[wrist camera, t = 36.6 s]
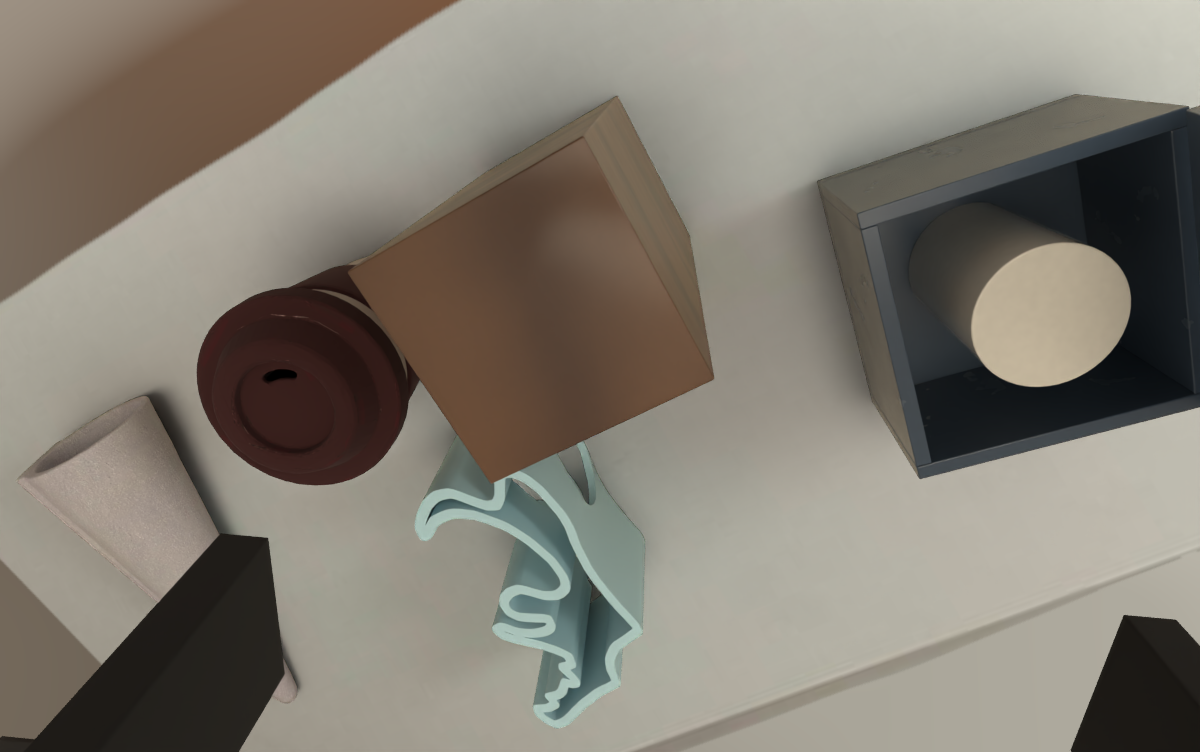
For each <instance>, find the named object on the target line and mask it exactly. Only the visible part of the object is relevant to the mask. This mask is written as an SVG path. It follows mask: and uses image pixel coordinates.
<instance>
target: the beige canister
mask: <svg viewBox="0 0 1200 752" xmlns="http://www.w3.org/2000/svg"><path fill="white" fill-rule="evenodd" d="M909 281H910V285H911V288H912V291H913V293H914V295H915V297H916V298H917V300H918V301H919V302H920V304H921V305H922V306H923V307H924V308H925V309H926V310H927V311H928V312H929V313H930V314H931V315H932V316H933V317H934V318H936V319H937V320H938V321H939V322H940V323H941V324H942V325H943V326H944V327H945V328H946V329H947V330H948V331H949V332H950V333H951V334H952V335H953V336H954V337H955V338H956V339H957V340H958V341H959V342H960V343H961V344H962V345H963V346H964V347H965V348H966V349H968V350H969V351H970V352H971V353H972V354H973V355H974V356H975V357H976V358H977V359H978V360H979V361H980V362H981V363H982V364H983V365H984V366H985V367H986V368H987V369H988V370H989V371H991V372H992V373H993V374H994V375H996V376H998V377H999V378H1001V379H1003V380H1005V381H1007V382H1010V383H1013V384H1016V385H1022V386H1029V387H1043V386H1051V385H1057V384H1061V383H1064V382H1067V381H1070V380H1072V379H1075V378H1077V377H1079V376H1081V375H1083V374H1085V373H1086V372H1088V371H1089V370H1091V369H1092V368H1094V367H1095V366H1097V365H1098V364H1099V363H1100V362H1101V361H1102V360H1104V359H1105V358H1106V357H1107V355H1108V354H1109V353H1110V352H1111V351H1112V350H1113V349H1114V347H1115V346H1116V345H1117V343H1118V342H1119V340H1120V338H1121V337H1122V335H1123V333H1124V330H1125V328H1126V326H1127V323H1128V319H1129V316H1130V309H1131V294H1130V288H1129V285H1128V281H1127V279H1126V277H1125V275H1124V273H1123V271H1122V269H1121V268H1120V267H1119V265H1118V264H1117V263H1116V262H1115V261H1114V260H1113V259H1112V258H1111V257H1110V256H1108V255H1107V254H1105V253H1104V252H1102V251H1100V250H1098V249H1096V248H1094V247H1092V246H1090V245H1088V244H1086V243H1083V242H1081V241H1079V240H1077V239H1075V238H1072V237H1070V236H1068V235H1066V234H1064V233H1061V232H1059V231H1057V230H1055V229H1053V228H1050V227H1048V226H1046V225H1044V224H1041V223H1039V222H1037V221H1035V220H1033V219H1030V218H1028V217H1026V216H1024V215H1022V214H1019V213H1017V212H1015V211H1013V210H1011V209H1008V208H1006V207H1004V206H1001V205H998V204H993V203H982V202H979V203H970V204H965V205H962V206H959V207H956V208H953V209H951V210H949V211H947V212H945V213H944V214H942V215H941V216H939V217H938V218H937V219H935V220H934V221H933V222H932V223H931V224H930V225H929V226H928V227H927V228H926V229H925V230H924V231H923V233H922V234H921V235H920V237H919V238H918V240H917V242H916V244H915V246H914V248H913V250H912V253H911V257H910V262H909Z"/></svg>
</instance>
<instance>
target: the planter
mask: <svg viewBox="0 0 1200 752" xmlns="http://www.w3.org/2000/svg"><path fill="white" fill-rule="evenodd" d="M16 481H17V483H18V484H20V485H21V486H22V487H23V488H24V489H25V490H27V491H28V492H29V493H30V494H31V495H32V496H34V497H35V498H36V499H37V500H38V501H39V502H41V503H42V504H43V505H44V506H45V507H46V508H48V509H49V510H50V511H51V512H52V513H53V514H55V515H56V516H57V517H58V518H59V519H60V520H62V521H63V522H64V523H65V524H66V525H67V526H69V527H70V528H71V529H72V530H73V531H74V532H76V533H77V534H78V535H79V536H80V537H81V538H83V539H84V540H85V541H86V542H87V543H88V544H90V545H91V546H92V547H93V548H94V549H95V550H97V551H98V552H99V553H100V554H101V555H102V556H104V557H105V558H106V559H107V560H108V561H109V562H111V563H112V564H113V565H114V566H115V567H117V568H118V569H119V570H120V571H121V572H122V573H124V574H125V575H126V576H127V577H128V578H129V579H131V580H132V581H133V582H134V583H135V584H136V585H138V586H139V587H140V588H141V589H142V590H143V591H145V592H146V593H147V594H148V595H149V596H150V597H152V598H153V599H154V600H155V601H156V602H157V603H158V602H159V601H160V600H161V599H162V598H163V597H164V596H165V594H166V593H167V592H168V591H169V590H170V589H171V588H172V587H173V586H174V584H175V583H176V582H177V581H178V580H179V579H180V578H181V577H182V576H183V575H184V573H185V572H186V571H187V570H188V569H189V568H190V567H191V566H192V565H193V563H194V562H195V561H196V560H197V559H198V558H199V557H200V556H201V555H202V553H203V552H204V551H205V550H206V549H207V548H208V547H209V546H210V545H211V543H212V542H213V541H214V540H215V539H216V538H217V537H218V536H219V533H218V531H217V529H216V527H215V525H214V523H213V521H212V519H211V517H210V515H209V513H208V511H207V510H206V508H205V506H204V504H203V502H202V500H201V498H200V496H199V494H198V492H197V490H196V488H195V487H194V485H193V483H192V481H191V479H190V477H189V475H188V473H187V472H186V470H185V468H184V466H183V464H182V462H181V460H180V458H179V456H178V454H177V452H176V449H175V447H174V445H173V444H172V442H171V440H170V438H169V436H168V434H167V432H166V430H165V428H164V426H163V424H162V423H161V421H160V419H159V417H158V415H157V413H156V411H155V409H154V407H153V405H152V404H151V402H150V400H149V398H148V397H147V396H141V397H137V398H134V399H132V400H129V401H127V402H125V403H123V404H121V405H119V406H117V407H115V408H113V409H111V410H109V411H107V412H106V413H104V414H102V415H100V416H99V417H97V418H95V419H94V420H92V421H91V422H89V423H87V424H86V425H84V426H83V427H81V428H80V429H78V430H77V431H75V432H74V433H72V434H71V435H69V436H68V437H66V438H65V439H63V440H61V441H59V442H57V443H56V444H55V445H54V446H52V447H51V448H50V449H49V450H48V451H47V452H46V453H45V454H43V455H42V456H41V457H40V458H39V459H38V460H37V461H36V462H35V463H34V464H33V465H31V466H30V467H29V468H28V469H27V470H26V471H25V472H24V473H23V474H22V475H21V476H20V477H19V478H18V479H17V480H16ZM283 663H284V671H285V675H284V676H283V678H282V680H281V682H280V683H279V685H278V687H277V688H276V690H275V692H274V693H273V695H272V697H273V698H275V699H277V700H278V701H280V702H282V703H290V702H292V701H293V700H294V699H295V698H296V696H297V686H296V683H295V681H294V679H293V677H292V675H291V673H290V671H289V669H288V666H287V664H286V662H285V660H284V658H283Z"/></svg>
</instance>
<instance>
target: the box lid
mask: <svg viewBox="0 0 1200 752" xmlns="http://www.w3.org/2000/svg"><path fill="white" fill-rule="evenodd" d="M1186 118H1187V130H1188V142H1189V155H1190V167H1191V179H1192V191H1193V203H1194V215H1195V228H1196V240H1197V252H1198V264H1199V276H1200V106H1198V107H1194V108H1191V109H1187V110H1186Z"/></svg>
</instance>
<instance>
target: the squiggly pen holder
mask: <svg viewBox="0 0 1200 752" xmlns="http://www.w3.org/2000/svg"><path fill="white" fill-rule="evenodd" d="M577 446H578V448H579V450H580V453H581V456H582V461H583V465H584V468H585V473H586V477H587V481H588V488H589V503H588V504H587V503H586V502H585V500H584V498H583V495H582V492H581V490H580V489H579V487H578V485H577V484H576V482H575V481H574V480H573V478H572V477H571V476H570V475H569V474H568V472H567V471H566V469H565V467H564V465H563V464H562V462H561V460H560V458H559V456H558V454H557V453H556V454H554V455H552V456H550V457H548V458H545V459H543V460H541V461H539V462H537V463H535V464H533V465H531V466H528V467H526V468H524V469H522V470H520V471H518V472H516V473H514V474H511V475H509V476H507V477H505V478H503V479H501V480H499V481H496V482H494V483H492V484H491V483H490V482H489V480H488V479H487V478H486V476H485V475H484V473H483V472H482V470H481V469H480V467H479V466H478V464H477V463H476V461H475V460H474V458H473V457H472V455H471V454H470V452H469V451H468V450H467V448H466V447H465V445H464V444H463V442H462V441H461V439H460V438H459V436H458V435H457V436H456V438H455V439H454V441H453V443H452V445H451V447H450V449H449V451H448V453H447V455H446V457H445V459H444V461H443V463H442V465H441V466H440V468H439V470H438V472H437V474H436V476H435V478H434V480H433V482H432V484H431V486H430V488H429V490H428V492H427V494H426V495H425V497H424V499H423V501H422V503H421V505H420V507H419V509H418V512H417V515H416V519H415V530H416V532H417V535H418V537H419V538H420V539H421V540H422V541H427V540H429V539H431V538H432V536H433V535H434V533H435V531H436V529H437V528H438V526H439V525H441V524H443V523H445V522H447V521H449V520H452V519H470V520H476V521H479V522H482V523H485V524H488V525H491V526H494V527H496V528H499V529H502V530H504V531H506V532H508V533H510V534H511V535H513V536H515V537H516V538H517V539H516V542H515V544H514V548H513V551H512V555H511V558H510V562H509V565H508V569H507V572H506V576H505V579H504V583H503V586H502V590H501V593H500V599H499V605H498V609H497V612H496V616H495V619H494V623H493V626H492V630H493V632H494V633H495V634H496V635H497V636H498V637H499V638H501V639H503V640H505V641H508V642H512V643H515V644H520V645H524V646H529V647H533V648H537V649H541V650H543V655H542V661H541V666H540V671H539V677H538V682H537V687H536V693H535V698H534V703H533V710H534V713H535V715H536V716H537V717H538V718H539V719H540V720H542V721H543V722H544V723H545V724H547V725H549V726H552V727H554V728H557V729H558V728H561V727H564V726H567V725H569V724H570V723H571V722H573V721H574V720H575V719H576V718H577V717H578V716H579V715H580V714H581V713H582V712H583V711H584V710H585V709H586V708H587V707H588V706H589V705H591V704H592V703H593V702H595V701H596V700H597V699H599V698H600V697H602V696H603V695H605V694H607V693H609V692H611V691H613V690H614V689H616V688H618V687H620V684H621V667H622V649H623V648H624V647H625V646H627V645H628V644H629V643H631V642H632V641H634V640H635V639H637V638H638V637H639V636H641V635H642V634H643V603H644V559H645V540H644V537H643V536H642V534H641V532H640V531H639V530H638V529H637V528H636V526H635V525H634V524H633V523H632V522H631V521H630V520H629V519H628V517H627V516H626V515H625V514H624V513H623V511H622V510H621V509H620V508H619V506H618V505H617V504H616V503H615V501H614V500H613V499H612V497H611V496H610V495H609V493H608V492H607V490H606V489H605V487H604V485H603V484H602V482H601V480H600V478H599V476H598V474H597V472H596V470H595V468H594V465H593V463H592V461H591V457H590V454H589V452H588V449H587V447H586V445H585V444H584V442H583V441H582V442H579V443H577ZM512 478H514V479H517V480H519V481H521V482H523V483H525V484H526V485H528V486H529V487H530V488H532V489H533V490H534V491H535V492H537V493H538V494H539V495H540V497H541V498H542V499H543V500H544V501H542V500H538V501H537V500H535V499H534V498H533V497H531V496H530V495H529V494H527V493H526V492H525V491H524V490H523V489H522V488H521V487H520V486H519V485H517V484H516V483H515V482H513V481H512ZM576 555H577V557H576ZM588 576H589V578H590V579H591V580H592V582H593V583H594V585H595V586H596V587H597V588H598V590H599V591H600V592H601V593H602V595H600V596H599V597H598V598H597V599H596V600H594V601H593V602H592V603H591V604H590V600H591V591H592V586H591V584H590V582H589V581H588Z"/></svg>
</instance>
